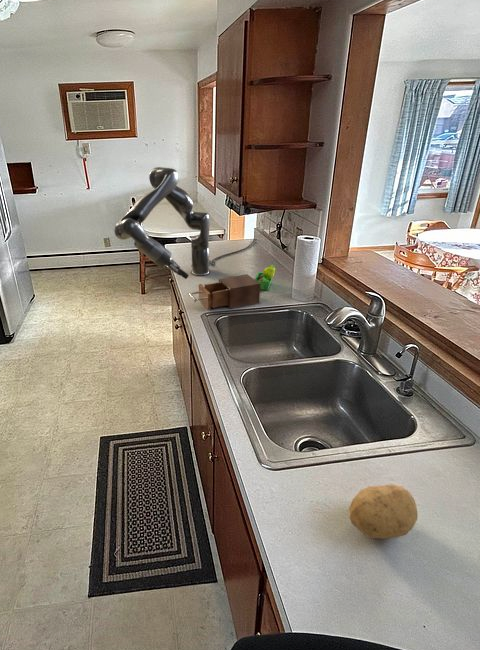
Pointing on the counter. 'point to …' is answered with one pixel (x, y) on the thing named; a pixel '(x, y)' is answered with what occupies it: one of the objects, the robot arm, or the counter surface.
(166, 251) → the robot arm
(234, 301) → the cabinet
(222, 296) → the drawer
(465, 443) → the counter surface
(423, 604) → the counter surface
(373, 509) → the potato
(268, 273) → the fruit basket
